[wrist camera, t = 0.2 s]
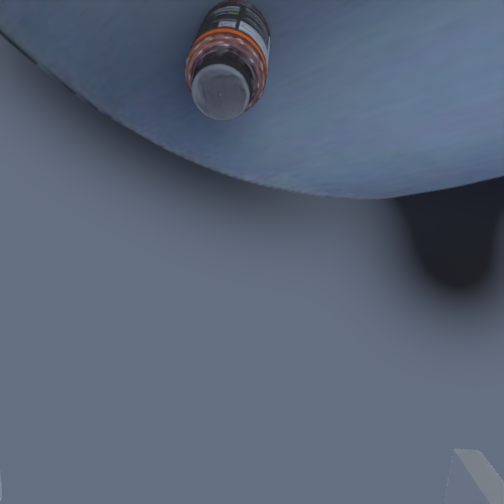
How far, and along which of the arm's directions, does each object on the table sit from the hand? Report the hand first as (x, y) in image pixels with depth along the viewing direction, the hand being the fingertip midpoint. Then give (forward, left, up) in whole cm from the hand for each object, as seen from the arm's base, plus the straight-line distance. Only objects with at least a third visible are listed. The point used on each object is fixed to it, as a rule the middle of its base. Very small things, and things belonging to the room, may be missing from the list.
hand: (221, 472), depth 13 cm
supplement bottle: (-2, -3, -35) cm, 35 cm away
